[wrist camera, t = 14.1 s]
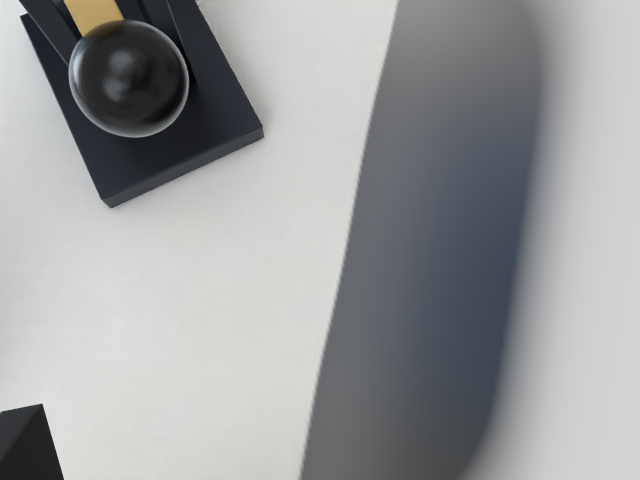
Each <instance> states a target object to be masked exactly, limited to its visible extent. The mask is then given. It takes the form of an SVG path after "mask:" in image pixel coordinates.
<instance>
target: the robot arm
mask: <svg viewBox="0 0 640 480" xmlns="http://www.w3.org/2000/svg"><path fill="white" fill-rule="evenodd" d="M0 480H64V478H63V474H62V471H61V467H60V464H59V460H58V457H57V453H56V450H55V446H54V443H53V439H52V436H51V432H50V429H49V425H48V422H47V418H46V415H45V411H44V408H43V404H38V405H33V406H28V407H23V408H18V409H13V410H8V411H3V412H1V413H0Z"/></svg>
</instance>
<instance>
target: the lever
mask: <svg viewBox="0 0 640 480" xmlns="http://www.w3.org/2000/svg"><path fill="white" fill-rule="evenodd" d="M64 2H65V4H66V6H67V8H68V9H69V11H70V13H71V15H72V17H73V19H74V21H75V23H76V25H77V27H78V29H79V30H80V32H81V34H82V38H81V39H80V40H79V41H78V43H77V45H76V46H75V48H74V50H73V53H72V55H71V59H70V63H69V83H70V88H71V91H72V94H73V97H74V99H75V101H76V103H77V105H78V106H79V108H80V109H81V111H82V112H83V113H84V114H85V116H86V117H88V118H89V119H90V120H91V121H92V122H93V123H94V124H96V125H97V126H98V127H100V128H102V129H104V130H105V131H107V132H110V133H112V134H115V135H118V136H123V137H132V138H138V137H146V136H150V135H153V134H156V133H158V132H160V131H162V130H164V129H165V128H167V127H168V126H169V125H171V124H172V123H173V122H174V121H175V120H176V119H177V117H178V116H179V115H180V113H181V111H182V110H183V108H184V106H185V103H186V100H187V97H188V91H189V76H188V71H187V67H186V64H185V61H184V59H183V57H182V55H181V53H180V51H179V49H178V48H177V47H176V45H175V44H174V43H173V42H172V41H171V40H170V38H169V37H167V36H166V35H165V34H164V33H163V32H161V31H160V30H158V29H157V28H155V27H153V26H151V25H149V24H147V23H144V22H141V21H136V20H131V19H124V18H123V16H122V14H121V12H120V10H119V8H118V6H117V4H116V2H115V0H64Z"/></svg>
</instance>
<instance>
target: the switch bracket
mask: <svg viewBox="0 0 640 480" xmlns="http://www.w3.org/2000/svg"><path fill="white" fill-rule="evenodd" d="M19 1H20V3H21V4H22V5H23V7H24V8H25V9H26V11H27V12H28V13H27V14H24V15H22V16H20V19H21V21H22V23H23V26H24V28H25V30H26V32H27V35H28V37H29V39H30V41H31V43H32V46H33V48H34V50H35V52H36V55H37V57H38V59H39V61H40V64H41V66H42V68H43V70H44V73H45V75H46V77H47V79H48V82H49V84H50V86H51V88H52V90H53V93H54V95H55V97H56V99H57V102H58V104H59V106H60V108H61V111H62V113H63V115H64V117H65V120H66V122H67V124H68V126H69V129H70V131H71V133H72V135H73V137H74V140H75V142H76V144H77V146H78V149H79V151H80V153H81V155H82V158H83V160H84V162H85V164H86V167H87V169H88V171H89V173H90V176H91V178H92V180H93V182H94V184H95V187H96V189H97V191H98V193H99V196H100V198H101V200H102V201H103V202H105V203H106V204H107V205H108V206H109V207H110V208H113V207H115V206H117V205H119V204H121V203H124V202H126V201H128V200H130V199H132V198H134V197H136V196H139V195H141V194H143V193H145V192H147V191H149V190H152V189H154V188H156V187H158V186H160V185H162V184H164V183H167V182H169V181H171V180H173V179H175V178H177V177H180V176H182V175H184V174H186V173H188V172H190V171H192V170H195V169H197V168H199V167H201V166H203V165H205V164H208V163H210V162H212V161H214V160H216V159H218V158H220V157H223V156H225V155H227V154H229V153H231V152H233V151H236V150H238V149H240V148H242V147H244V146H246V145H248V144H251V143H253V142H255V141H257V140H259V139H261V138H263V137H264V133H263V127H262V124H261V122H260V120H259V119H258V117H257V115H256V113H255V111H254V109H253V107H252V106H251V104H250V102H249V100H248V98H247V96H246V95H245V93H244V91H243V89H242V87H241V85H240V83H239V82H238V80H237V78H236V76H235V74H234V72H233V70H232V69H231V67H230V65H229V63H228V61H227V59H226V58H225V56H224V54H223V52H222V50H221V48H220V46H219V45H218V43H217V41H216V39H215V37H214V35H213V33H212V32H211V30H210V28H209V26H208V24H207V22H206V21H205V19H204V17H203V15H202V13H201V11H200V9H199V8H198V6H197V4H196V2H195V0H115V2H116V4H117V6H118V8H119V10H120V12H121V14H122V16H123V18H124V19H131V20H136V21H141V22H144V23H147V24H149V25H151V26H153V27H155V28H157V29H158V30H160V31H161V32H163V33H164V34H165V35H166V36H167V37H169V38H170V40H171V41H172V42H173V43H174V44H175V45H176V47H177V48H178V49H179V51H180V53H181V55H182V57H183V59H184V61H185V64H186V67H187V71H188V76H189V91H188V97H187V100H186V103H185V106H184V108H183V110H182V111H181V113H180V115H179V116H178V117H177V119H176V120H175V121H174V122H173V123H172V124H171V125H169V126H168V127H167V128H165V129H164V130H162V131H160V132H158V133H156V134H153V135H150V136H146V137H138V138H132V137H123V136H118V135H115V134H112V133H110V132H107V131H105V130H104V129H102V128H100V127H98V126H97V125H96V124H94V123H93V122H92V121H91V120H90V119H89V118H88V117H86V116H85V114H84V113H83V112H82V111H81V109H80V108H79V106H78V105H77V103H76V101H75V99H74V97H73V94H72V91H71V88H70V83H69V63H70V59H71V55H72V53H73V50H74V48H75V46H76V45H77V43H78V41H79V40H80V39H81V38H82V34H81V32H80V30H79V29H78V27H77V25H76V23H75V21H74V19H73V17H72V15H71V13H70V11H69V9H68V8H67V6H66V4H65V2H64V0H19Z"/></svg>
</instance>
